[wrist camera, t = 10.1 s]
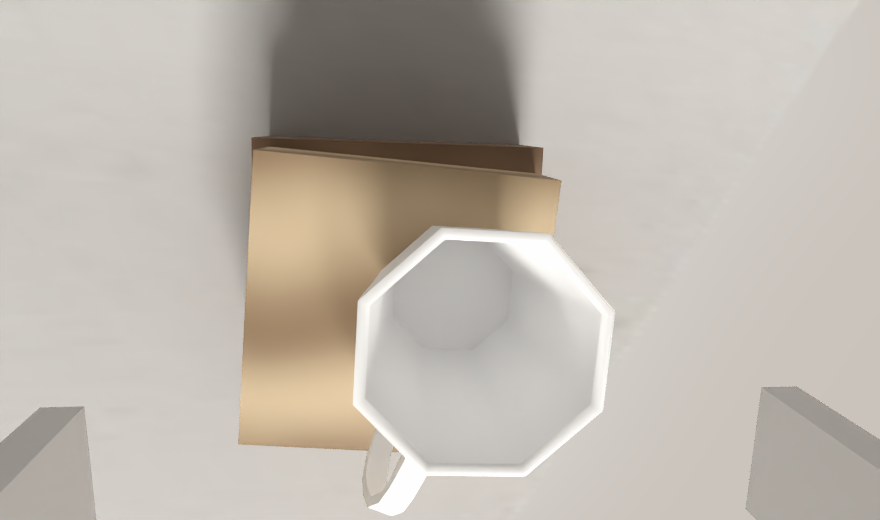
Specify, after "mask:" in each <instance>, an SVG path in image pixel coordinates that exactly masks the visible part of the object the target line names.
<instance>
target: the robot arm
mask: <svg viewBox="0 0 880 520" xmlns="http://www.w3.org/2000/svg"><path fill="white" fill-rule="evenodd" d="M746 510H747V511H748V512H749V513H750V514H751V515H752V516H753V517H754V518H755V519H756V520H880V440H879V439H877V438H876V437H875V436H873V435H872V434H870V433H869V432H867V431H865V430H864V429H862V428H861V427H859V426H858V425H856V424H854V423H853V422H851V421H850V420H848V419H847V418H845V417H844V416H842V415H840V414H839V413H837V412H835V411H834V410H832V409H831V408H829V407H828V406H826V405H825V404H823V403H822V402H820V401H819V400H817V399H815V398H814V397H812V396H811V395H809V394H808V393H806V392H804V391H803V390H801V389H800V388H798V387H763V388H761V394H760V402H759V410H758V417H757V425H756V433H755V440H754V448H753V456H752V464H751V472H750V479H749V487H748V494H747V502H746ZM0 520H96V513H95V503H94V494H93V485H92V475H91V466H90V457H89V447H88V438H87V429H86V419H85V410H84V407H50V408H39V409H38V410H37V411H36V412H35V413H33V414H32V415H31V416H30V417H29V418H28V419H27V420H26V421H24V422H23V423H22V424H21V425H20V426H19V427H18V428H17V429H15V430H14V431H13V432H12V433H11V434H10V435H9V436H8V437H7V438H5V439H4V440H3V441H2V442H1V443H0Z"/></svg>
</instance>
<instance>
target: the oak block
mask: <svg viewBox="0 0 880 520" xmlns="http://www.w3.org/2000/svg"><path fill="white" fill-rule="evenodd" d="M560 187H561V181H560V180H557V179H553V178H550V177H546V176H543V175H539V174H536V173H528V172H518V171H508V170H498V169H488V168H478V167H468V166H458V165H449V164H439V163H429V162H419V161H409V160H399V159H389V158H379V157H370V156H360V155H350V154H340V153H330V152H320V151H310V150H300V149H290V148H281V147H265V148H260V149H255V150H253V163H252V183H251V203H250V222H249V242H248V262H247V282H246V301H245V321H244V341H243V360H242V380H241V400H240V420H239V439H238V444H242V445H262V446H283V447H304V448H324V449H345V450H365V451H368V449H369V446H370V443H371V439H372V436H373V433H374V429H375V427H374V426H373V425H372V424H371V423H370V422H369V421H368V420H367V419H366V418H365V417H364V416H363V415H362V414H361V413H360V412H359V411H358V410H357V409H356V408H355V407H354V406H353V389H354V368H355V348H356V327H357V307H358V300H359V299H360V297H361V296H362V294H363V293H364V292H365V291H366V289H367V288H368V287H369V286H370V285H371V284H372V282H373V281H374V280H375V278H376V277H377V275H378V274H379V272H380V271H381V270H382V269H383V268H385V267H386V266H387V265H388V264H389V263H390V262H391V261H393V260H394V259H395V258H396V257H397V256H398V255H399V254H400V253H402V252H403V251H404V250H405V249H406V248H407V247H408V246H410V245H411V244H412V243H413V242H414V241H415V240H416V239H418V238H419V237H420V236H421V235H422V234H423V233H424V232H425V231H427V230H428V229H429V228H430V227H431V226H446V227H464V228H482V229H500V230H509V231H522V232H538V233H549V234H551V235H552V237H553V238H554V230H555V223H556V216H557V209H558V201H559V194H560ZM392 452H399V451H398V450H397V449H396V448H395V447H394V446H393V450H392Z"/></svg>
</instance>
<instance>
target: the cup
mask: <svg viewBox="0 0 880 520" xmlns="http://www.w3.org/2000/svg"><path fill="white" fill-rule="evenodd" d="M614 318H615V311H614V309H613V308H612V307H611V306H610V305H609V304H608V302H607V301H606V300H605V299H604V298H603V296H602V295H601V294H600V293H599V292H598V290H597V289H596V288H595V287H594V286H593V284H592V283H591V282H590V281H589V280H588V278H587V277H586V276H585V275H584V274H583V272H582V271H581V270H580V269H579V268H578V266H577V265H576V264H575V263H574V262H573V260H572V259H571V258H570V257H569V256H568V254H567V253H566V252H565V251H564V250H563V248H562V247H561V246H560V245H559V244H558V243H557V241H556V240H555V239H554V238H553V237H552V235H551V234H549V233H538V232H522V231H509V230H500V229H482V228H464V227H446V226H431V227H430V228H429V229H428V230H427V231H425V232H424V233H423V234H422V235H421V236H420V237H419V238H418V239H416V240H415V241H414V242H413V243H412V244H411V245H410V246H408V247H407V248H406V249H405V250H404V251H403V252H402V253H400V254H399V255H398V256H397V257H396V258H395V259H394V260H393V261H391V262H390V263H389V264H388V265H387V266H386V267H385V268H383V269H382V270H381V271H380V272H379V274H378V275H377V277H376V278H375V280H374V281H373V282H372V284H371V285H370V286H369V287H368V288H367V289H366V291H365V292H364V293H363V294H362V296H361V297H360V299H359V300H358V307H357V327H356V348H355V368H354V389H353V406H354V407H355V408H356V409H357V410H358V411H359V412H360V413H361V414H362V415H363V416H364V417H365V418H366V419H367V420H368V421H369V422H370V423H371V424H372V425H373V426H374V427H375V429H374V433H373V436H372V439H371V443H370V446H369V449H368V453H367V456H366V461H365V467H364V473H363V478H362V483H363V496H364V498H365V501H366V504H367V507H369V508H371V509H374V510H376V511H379V512H382V513H384V514H387V515H389V516H393V515H396V514H399V513H402V512H404V510H405V509H406V508H407V506H408V505H409V504H410V502H411V501H412V500H413V499H414V497H415V495H416V493H417V492H418V490H419V488H420V486H421V485H422V483H423V481H424V479H425V478H426V476H514V477H525V476H526V475H527V474H529V473H530V472H531V471H532V470H533V469H534V468H536V467H537V466H538V465H539V464H540V463H542V462H543V461H544V460H545V459H546V458H547V457H549V456H550V455H551V454H552V453H553V452H555V451H556V450H557V449H558V448H559V447H560V446H562V445H563V444H564V443H565V442H566V441H568V440H569V439H570V438H571V437H572V436H573V435H575V434H576V433H577V432H578V431H579V430H581V429H582V428H583V427H584V426H585V425H587V424H588V423H589V422H590V421H591V420H592V419H594V418H595V417H596V416H597V415H598V414H600V413H601V412H602V411H603V404H604V397H605V389H606V381H607V373H608V365H609V357H610V349H611V341H612V334H613V326H614ZM393 446H394V447H395V448H396V449H397V450H398V451H399V452H400V453H401V454H402V455H401V457H400V459H399V461H398V463H397V465H396V468H395V470H394V472H393V474H392V476H391V478H390V481H389V482H388V484H387V476H388V468H389V461H390V457H391V453H392V450H393Z"/></svg>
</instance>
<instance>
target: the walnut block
mask: <svg viewBox="0 0 880 520" xmlns="http://www.w3.org/2000/svg"><path fill="white" fill-rule="evenodd" d="M265 147H281V148H290V149H300V150H310V151H320V152H330V153H340V154H350V155H360V156H370V157H379V158H389V159H399V160H409V161H419V162H429V163H439V164H449V165H458V166H468V167H478V168H488V169H498V170H508V171H518V172H528V173H536V174H539V175H542V160H543V148H540V147H532V146H523V145H505V144H477V143H449V142H420V141H392V140H364V139H335V138H307V137H279V136H266V137H254V138H252V163H253V150H255V149H260V148H265Z"/></svg>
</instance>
